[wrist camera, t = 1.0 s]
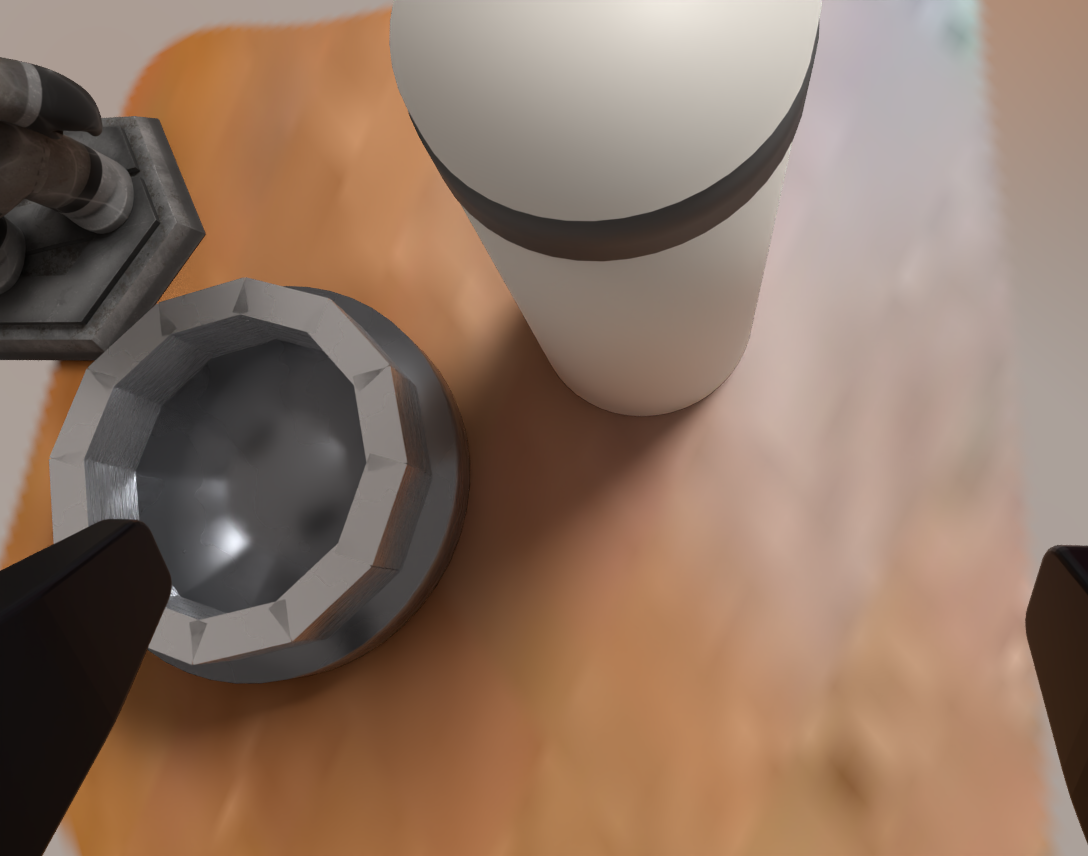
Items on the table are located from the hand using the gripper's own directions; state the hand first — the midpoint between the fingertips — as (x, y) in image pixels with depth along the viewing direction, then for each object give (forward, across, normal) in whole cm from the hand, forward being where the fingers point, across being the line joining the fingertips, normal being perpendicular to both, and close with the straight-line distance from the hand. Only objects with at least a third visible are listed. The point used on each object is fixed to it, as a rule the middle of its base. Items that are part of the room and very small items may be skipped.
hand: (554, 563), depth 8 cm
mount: (+11, +10, +8) cm, 17 cm away
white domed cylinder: (+15, 0, +4) cm, 15 cm away
